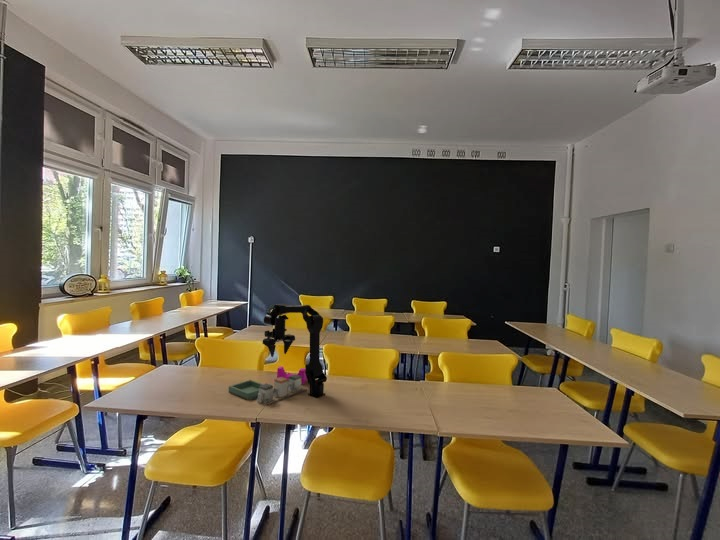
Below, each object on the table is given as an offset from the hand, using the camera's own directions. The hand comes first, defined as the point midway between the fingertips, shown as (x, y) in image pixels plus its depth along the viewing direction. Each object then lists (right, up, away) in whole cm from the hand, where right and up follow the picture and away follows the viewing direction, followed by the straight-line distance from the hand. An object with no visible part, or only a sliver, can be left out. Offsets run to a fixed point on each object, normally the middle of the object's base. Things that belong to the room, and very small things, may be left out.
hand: (278, 355), depth 196 cm
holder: (+5, -15, -18) cm, 24 cm away
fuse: (+5, -15, -18) cm, 24 cm away
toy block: (+7, -15, +3) cm, 17 cm away
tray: (-11, -14, -17) cm, 25 cm away
